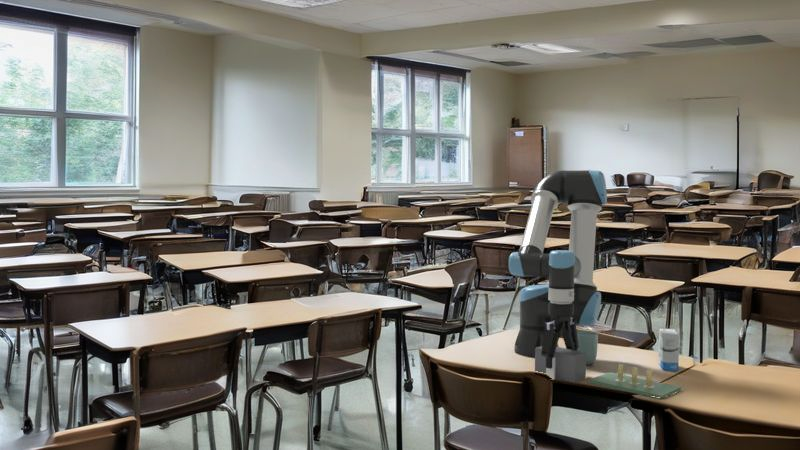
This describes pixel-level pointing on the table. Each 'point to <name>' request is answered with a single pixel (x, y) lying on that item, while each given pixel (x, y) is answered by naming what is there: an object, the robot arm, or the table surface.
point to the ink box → (668, 349)
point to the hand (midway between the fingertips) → (559, 375)
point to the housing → (564, 364)
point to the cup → (588, 345)
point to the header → (635, 383)
